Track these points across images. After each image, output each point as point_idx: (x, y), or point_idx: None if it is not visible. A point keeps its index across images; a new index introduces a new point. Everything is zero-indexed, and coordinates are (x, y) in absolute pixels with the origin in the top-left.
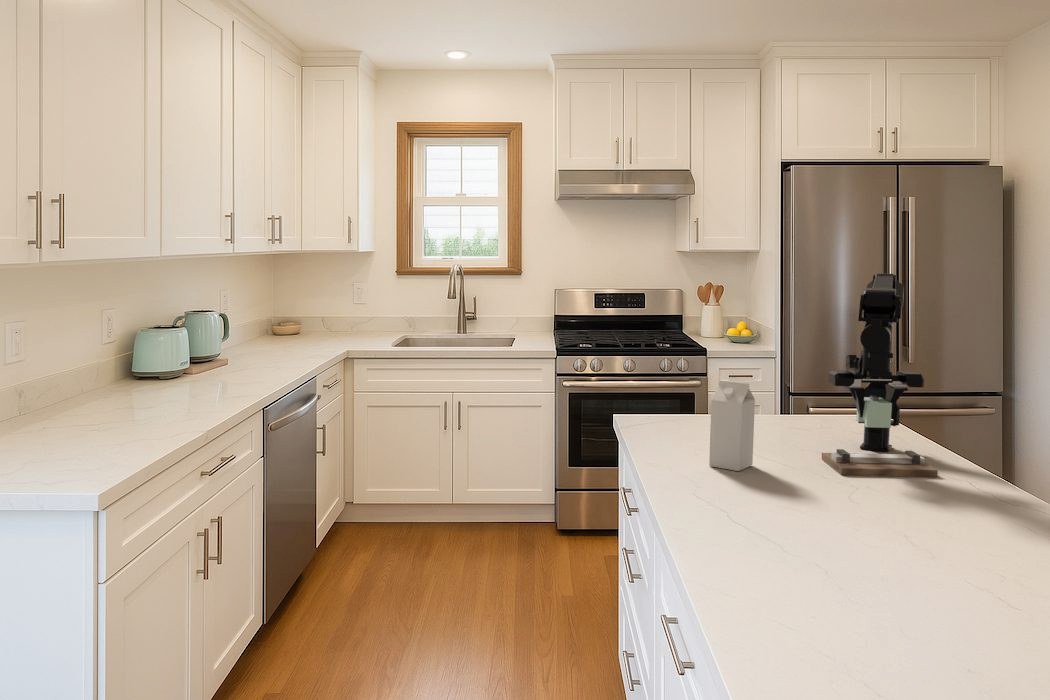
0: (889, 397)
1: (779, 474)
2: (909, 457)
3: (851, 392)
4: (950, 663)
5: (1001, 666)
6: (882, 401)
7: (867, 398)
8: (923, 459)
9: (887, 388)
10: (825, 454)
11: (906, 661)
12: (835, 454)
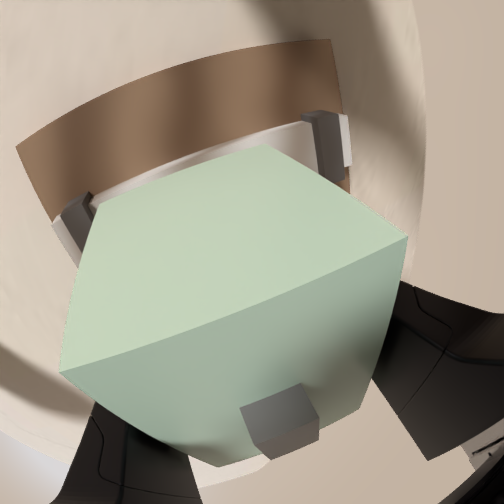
0: (401, 387)
1: (18, 344)
2: (313, 166)
3: (68, 498)
4: (234, 475)
5: (250, 470)
6: (325, 411)
7: (211, 397)
8: (346, 164)
9: (485, 394)
10: (29, 169)
11: (220, 479)
12: (67, 239)
